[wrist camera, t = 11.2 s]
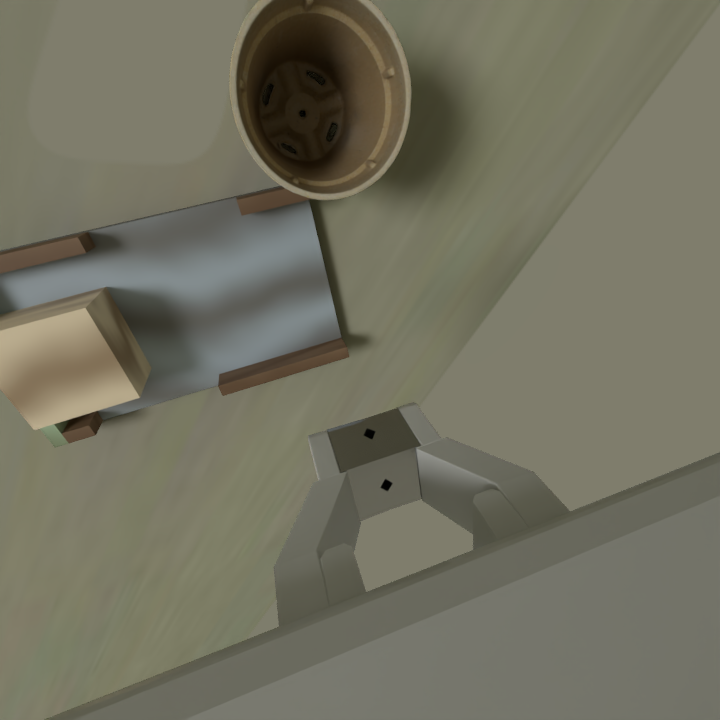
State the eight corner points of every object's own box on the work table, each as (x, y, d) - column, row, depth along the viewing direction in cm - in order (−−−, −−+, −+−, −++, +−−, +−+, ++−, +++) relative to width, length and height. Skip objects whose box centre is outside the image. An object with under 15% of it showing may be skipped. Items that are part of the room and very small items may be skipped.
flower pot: (362, 191, 30) (403, 202, 23) (238, 187, 28) (238, 198, 21) (369, 40, 26) (422, -5, 19) (223, 19, 24) (217, -43, 16)
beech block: (0, 314, 26) (-40, 341, 23) (106, 286, 27) (85, 307, 24) (60, 395, 30) (34, 430, 26) (151, 368, 31) (139, 397, 27)
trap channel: (-52, 262, 25) (-84, 274, 23) (302, 180, 29) (309, 183, 26) (69, 424, 32) (55, 447, 30) (341, 342, 36) (349, 356, 33)
